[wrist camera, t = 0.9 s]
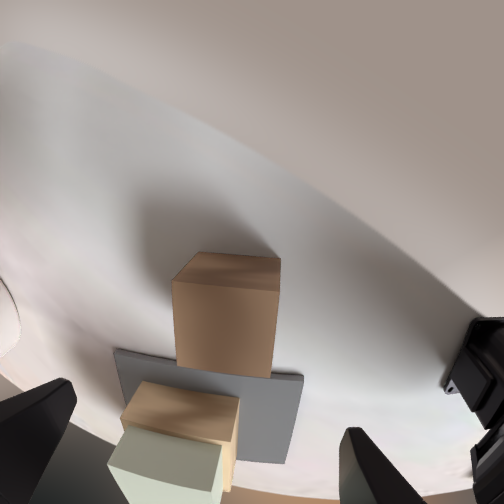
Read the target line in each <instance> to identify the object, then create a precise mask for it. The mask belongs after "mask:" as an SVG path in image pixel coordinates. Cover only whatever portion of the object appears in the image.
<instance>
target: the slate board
mask: <svg viewBox="0 0 504 504" xmlns="http://www.w3.org/2000/svg"><path fill="white" fill-rule="evenodd" d="M114 357H115V362H116V366H117V371H118V375H119V379H120V383H121V387H122V391H123V394H124V398H125V402H126V405H128V404H129V402H130V400H131V399H132V397H133V395H134V394H135V392H136V391H137V389H138V387H139V386H140V384H141V382H142V381H146V382H150V383H154V384H159V385H164V386H169V387H174V388H179V389H184V390H190V391H196V392H202V393H208V394H214V395H221V396H229V397H237V398H240V403H239V424H238V445H237V457H236V460H242V461H251V462H262V463H275V464H285V460H286V456H287V452H288V448H289V445H290V441H291V437H292V433H293V428H294V424H295V420H296V416H297V411H298V407H299V403H300V398H301V393H302V389H303V384H304V376H302V375H286V374H273V373H271V375H270V378H264V377H254V376H244V375H236V374H227V373H220V372H213V371H206V370H199V369H193V368H187V367H181V366H177V361H174V360H168V359H163V358H158V357H152V356H148V355H143V354H138V353H133V352H129V351H125V350H120V349H117V350H116V351H115V352H114Z"/></svg>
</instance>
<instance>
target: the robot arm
mask: <svg viewBox="0 0 504 504" xmlns="http://www.w3.org/2000/svg"><path fill="white" fill-rule="evenodd" d="M477 324H478V325H477ZM476 325H477V326H476ZM444 392H445V394H455V393H460V394H461V395H462V397H463V399H464V400H465V402H466V404H467V405H468V407H469V409H470V410H471V412H475V413H476V415H477V417H478V419H479V420H480V422H481V424H482V426H483V427H484V429H485V430H487V429H490V430H489V431H488V432H487V434H486V435H485V436H484V437H483V438H482V439H481V440H480V441H479V443H478V444H475V445H474V447H473V448H472V449H471V450H470V453H471V461H472V470H473V480H474V483H473V491H474V495H475V499H476V502H477V504H504V317H488V318H475V319H474V320H473V321H472V322H471V324H470V327H469V329H468V332H467V335H466V337H465V340H464V343H463V345H462V348H461V350H460V353H459V355H458V357H457V360H456V362H455V364H454V367H453V369H452V371H451V373H450V375H449V378H448V380H447V382H446V384H445V386H444ZM76 403H77V396H76V394H75V391H74V388H73V386H72V383H71V382H70V381H69V380H67V379H64V378H57V379H55V380H53V381H50V382H48V383H45V384H43V385H41V386H38V387H36V388H33V389H31V390H28V391H26V392H24V393H21V394H18V395H16V396H13V397H11V398H8V399H6V400H3V401H0V504H28V503H29V501H30V499H31V497H32V495H33V493H34V491H35V489H36V487H37V485H38V483H39V480H40V479H41V477H42V475H43V473H44V471H45V469H46V467H47V465H48V463H49V461H50V459H51V457H52V455H53V453H54V451H55V450H56V448H57V446H58V444H59V442H60V440H61V438H62V436H63V434H64V432H65V430H66V427H67V425H68V422H69V420H70V417H71V415H72V413H73V410H74V408H75V406H76ZM339 496H340V504H427V503H426V502H425V501H423V499H422V497H421V496H420V495H419V494H418V493H417V492H416V491H415V490H414V488H413V487H412V486H411V485H410V484H409V483H408V482H407V481H406V479H405V478H404V477H403V476H402V475H401V474H400V473H399V471H398V470H397V469H396V468H395V467H394V466H393V464H392V463H391V462H390V461H389V460H388V459H387V457H386V456H385V455H384V454H383V453H382V452H381V450H380V449H379V448H378V447H377V446H376V445H375V443H374V442H373V441H372V440H371V439H370V438H369V436H368V435H367V434H366V433H365V432H364V430H363V429H362V428H360V427H348V428H347V429H346V431H345V433H344V436H343V438H342V440H341V443H340V447H339Z"/></svg>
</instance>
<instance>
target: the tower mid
mask: <svg viewBox="0 0 504 504" xmlns="http://www.w3.org/2000/svg"><path fill="white" fill-rule="evenodd" d="M107 465H108V467H109V469H110V471H111V473H112V475H113V476H114V478H115V480H116V482H117V483H118V485H119V487H120V489H121V490H122V492H123V493H124V495H125V497H126V498H127V500H128V501H129V503H130V504H220V501H221V496H222V491H223V463H222V445H215V444H209V443H203V442H198V441H192V440H187V439H182V438H178V437H173V436H169V435H164V434H160V433H156V432H152V431H148V430H145V429H141V428H137V427H134V426H130V425H128V427H127V428H126V430H125V432H124V434H123V436H122V437H121V439H120V441H119V443H118V445H117V446H116V448H115V450H114V452H113V454H112V456H111V457H110V459H109V461H108V463H107Z"/></svg>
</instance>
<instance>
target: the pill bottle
mask: <svg viewBox="0 0 504 504" xmlns="http://www.w3.org/2000/svg"><path fill="white" fill-rule="evenodd" d="M20 336H21V325H20V319H19V316H18V312H17V309H16V307H15V304H14V302H13V300H12V298H11V296H10V294H9V292H8V290H7V289H6V287H5V286H4V284H3V283H2V281H1V280H0V358H1V357H2V356H3V355H5V354H6V353H7V352H8V351H10V350H11V349H12V348H13V347H14V346H15V345H16V344H17V343H18V341H19V339H20Z"/></svg>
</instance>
